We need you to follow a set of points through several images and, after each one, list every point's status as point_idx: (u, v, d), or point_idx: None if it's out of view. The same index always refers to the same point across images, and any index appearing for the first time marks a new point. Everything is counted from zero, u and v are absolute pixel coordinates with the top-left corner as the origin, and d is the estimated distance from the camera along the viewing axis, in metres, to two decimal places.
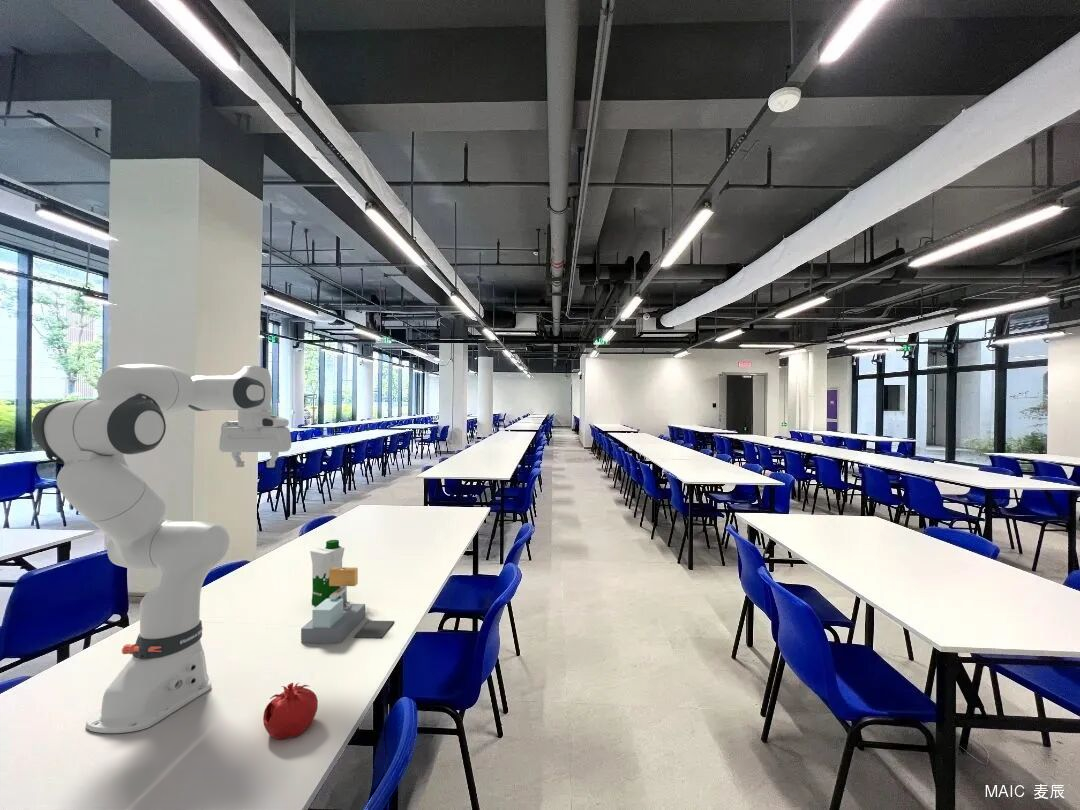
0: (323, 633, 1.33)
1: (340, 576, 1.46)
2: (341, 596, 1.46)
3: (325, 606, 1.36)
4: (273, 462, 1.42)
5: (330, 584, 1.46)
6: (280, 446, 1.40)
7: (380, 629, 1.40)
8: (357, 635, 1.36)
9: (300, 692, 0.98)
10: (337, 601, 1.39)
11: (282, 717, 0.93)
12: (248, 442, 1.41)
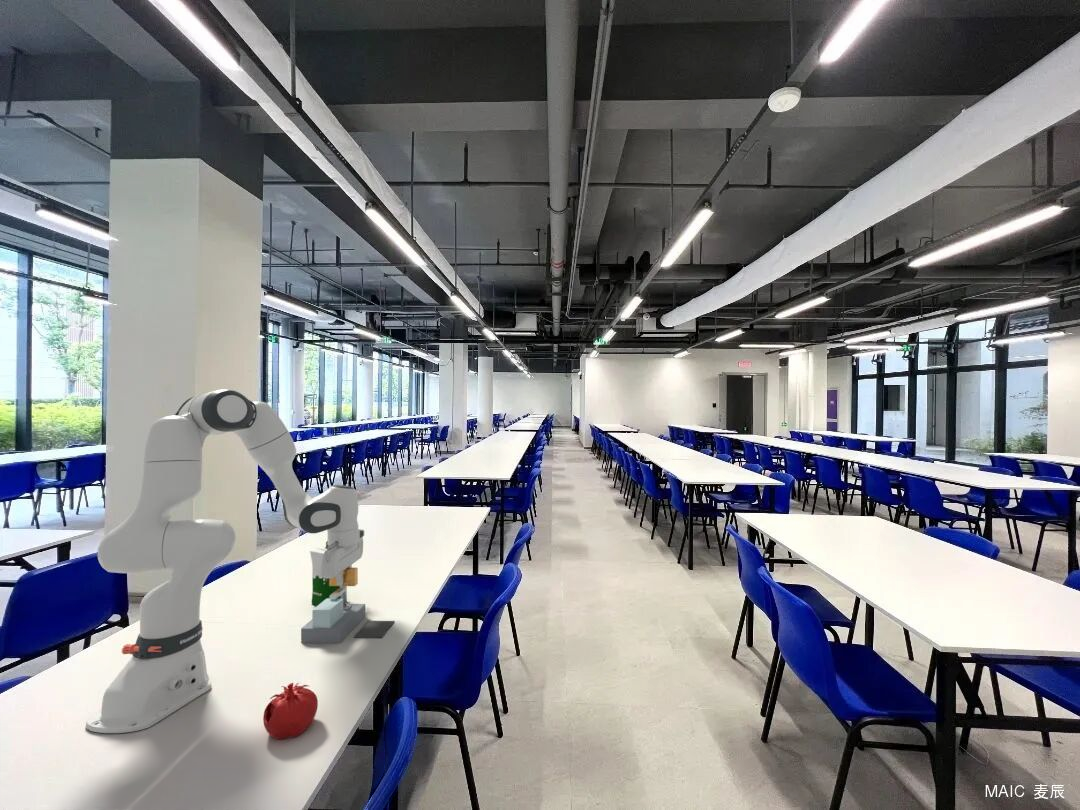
0: (323, 633, 1.33)
1: None
2: (341, 596, 1.46)
3: (325, 606, 1.36)
4: None
5: (330, 584, 1.46)
6: (361, 553, 1.56)
7: (380, 629, 1.40)
8: (357, 635, 1.36)
9: (300, 692, 0.98)
10: (337, 601, 1.39)
11: (282, 717, 0.93)
12: (347, 559, 1.46)
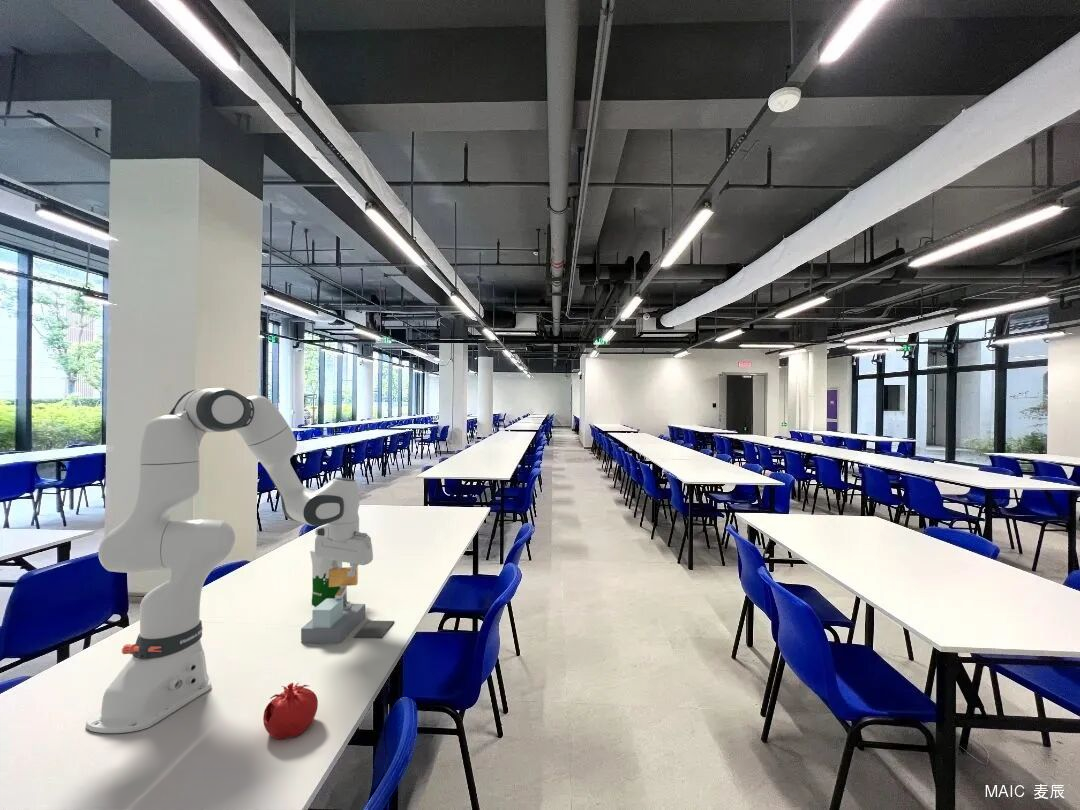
0: (323, 633, 1.33)
1: (340, 576, 1.46)
2: (342, 596, 1.46)
3: (325, 606, 1.36)
4: None
5: (330, 585, 1.45)
6: None
7: (380, 629, 1.40)
8: (357, 635, 1.36)
9: (300, 692, 0.98)
10: (337, 601, 1.39)
11: (282, 717, 0.93)
12: None
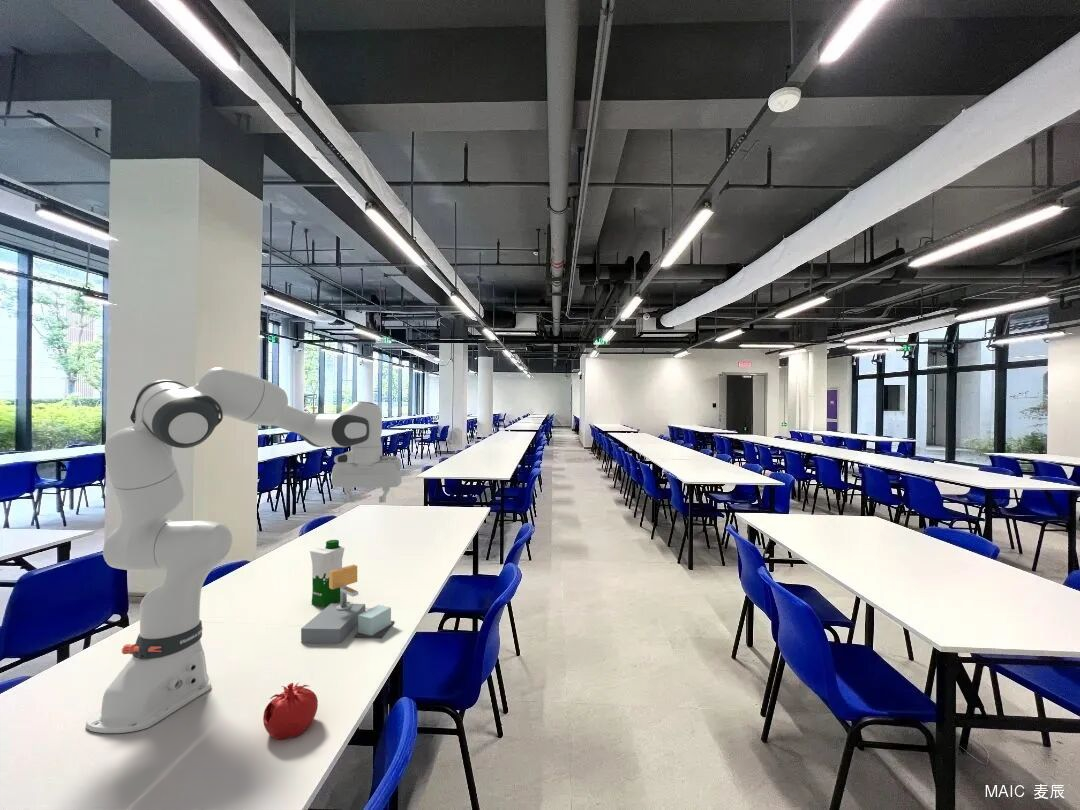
0: (323, 633, 1.33)
1: (343, 576, 1.46)
2: (343, 596, 1.46)
3: (371, 613, 1.39)
4: None
5: (333, 587, 1.43)
6: None
7: None
8: (357, 635, 1.36)
9: (300, 692, 0.98)
10: (384, 609, 1.42)
11: (282, 717, 0.93)
12: None
